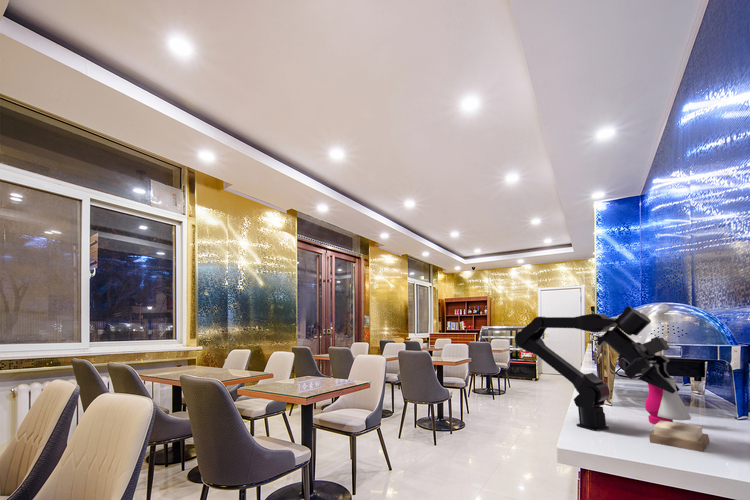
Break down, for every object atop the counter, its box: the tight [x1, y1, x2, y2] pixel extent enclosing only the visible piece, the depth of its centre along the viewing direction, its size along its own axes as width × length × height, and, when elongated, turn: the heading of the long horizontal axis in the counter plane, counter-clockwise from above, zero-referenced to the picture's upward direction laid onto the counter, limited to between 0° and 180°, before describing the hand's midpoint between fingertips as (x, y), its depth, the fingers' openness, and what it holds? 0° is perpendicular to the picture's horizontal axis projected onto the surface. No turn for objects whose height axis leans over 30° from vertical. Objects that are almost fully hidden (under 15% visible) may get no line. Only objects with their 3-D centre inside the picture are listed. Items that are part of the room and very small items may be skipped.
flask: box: [657, 377, 692, 421], centre depth 102 cm, size 7×7×10 cm
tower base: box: [648, 420, 710, 453], centre depth 102 cm, size 11×11×4 cm
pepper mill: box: [644, 382, 674, 425], centre depth 123 cm, size 7×7×20 cm
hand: (676, 391), depth 101 cm, fingers closed on flask, 3 cm apart
